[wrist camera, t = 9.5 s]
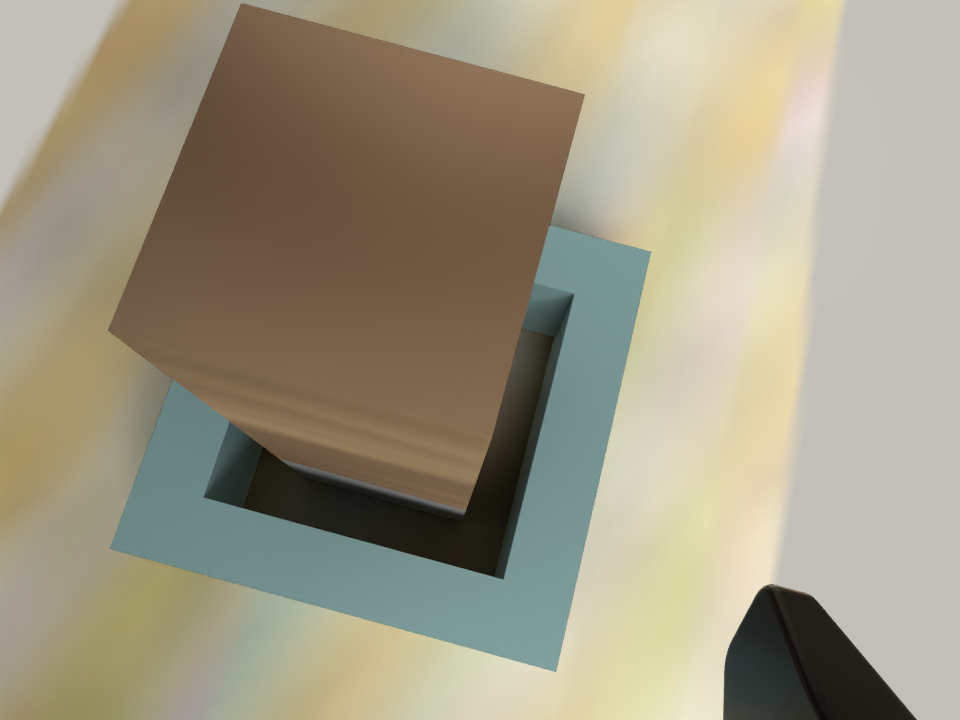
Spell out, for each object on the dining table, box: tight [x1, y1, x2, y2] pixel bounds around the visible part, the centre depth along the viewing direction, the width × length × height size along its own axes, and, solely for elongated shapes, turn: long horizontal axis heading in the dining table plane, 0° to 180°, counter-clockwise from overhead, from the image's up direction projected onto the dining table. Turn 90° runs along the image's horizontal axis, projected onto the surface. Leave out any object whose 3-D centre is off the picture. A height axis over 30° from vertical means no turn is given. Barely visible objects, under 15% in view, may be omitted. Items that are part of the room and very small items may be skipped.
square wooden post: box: [108, 3, 585, 522], centre depth 13 cm, size 4×4×11 cm
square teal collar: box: [110, 225, 651, 672], centre depth 17 cm, size 8×8×3 cm
